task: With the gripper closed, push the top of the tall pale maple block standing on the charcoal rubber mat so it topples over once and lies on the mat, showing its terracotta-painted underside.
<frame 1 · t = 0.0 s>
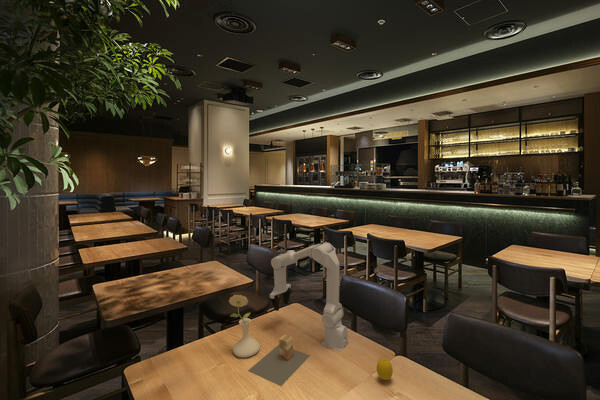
hand: (281, 307, 143), 10 cm above the table, fingers open, 7 cm apart
lemon: (384, 380, 105), on the table
rubber mat: (280, 364, 116), on the table
flower in vase: (245, 351, 125), on the table
maple block: (286, 356, 120), resting on rubber mat
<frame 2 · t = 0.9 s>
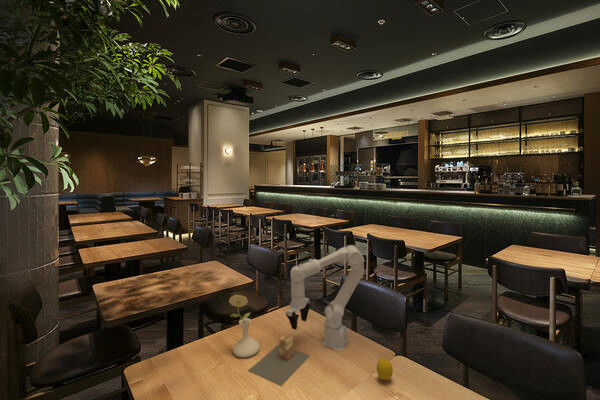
hand: (299, 324, 127), 9 cm above the table, fingers open, 7 cm apart
nothing on the table moved.
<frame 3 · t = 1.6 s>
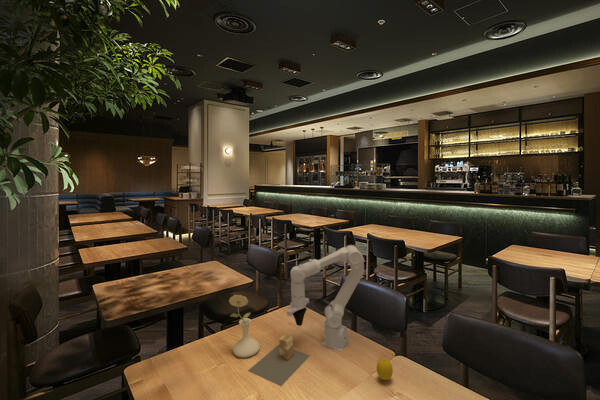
hand: (299, 324, 127), 9 cm above the table, fingers closed
nothing on the table moved.
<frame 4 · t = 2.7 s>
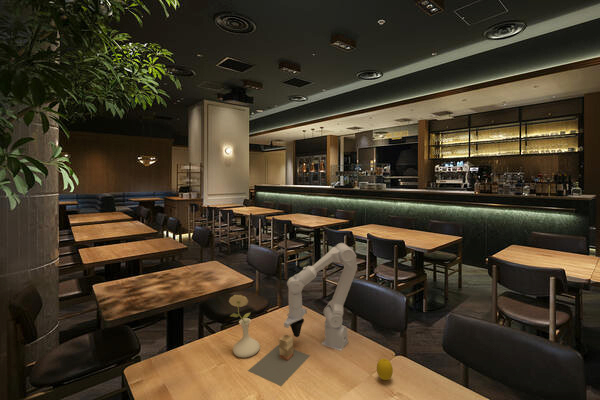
hand: (296, 335, 126), 5 cm above the table, fingers closed
nothing on the table moved.
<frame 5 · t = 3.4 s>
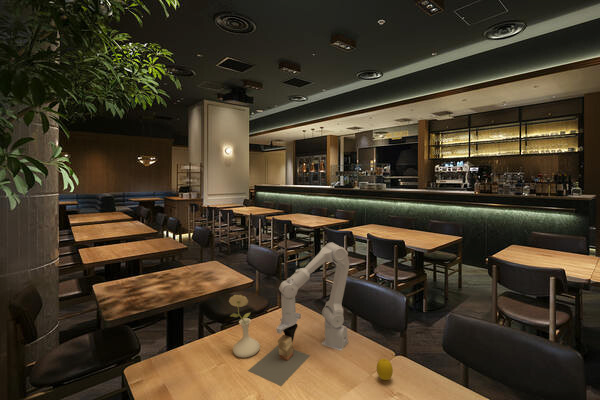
hand: (289, 341, 122), 5 cm above the table, fingers closed
maple block: (286, 356, 120), point 1 cm above the table, tilted 7°, touching gripper, rubber mat
everything else where it was.
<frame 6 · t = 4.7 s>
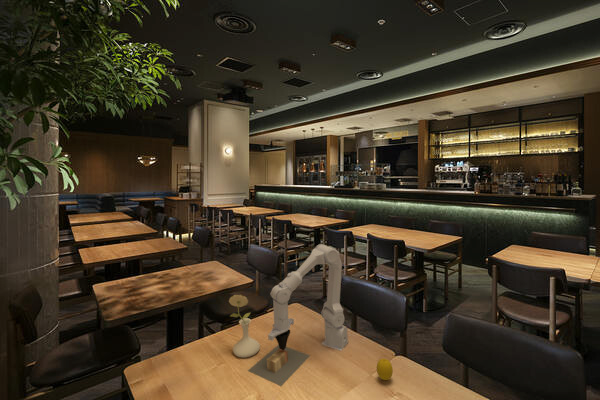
hand: (282, 348, 117), 5 cm above the table, fingers closed
maple block: (283, 354, 118), point 2 cm above the table, tilted 90°, touching rubber mat
everything else where it was.
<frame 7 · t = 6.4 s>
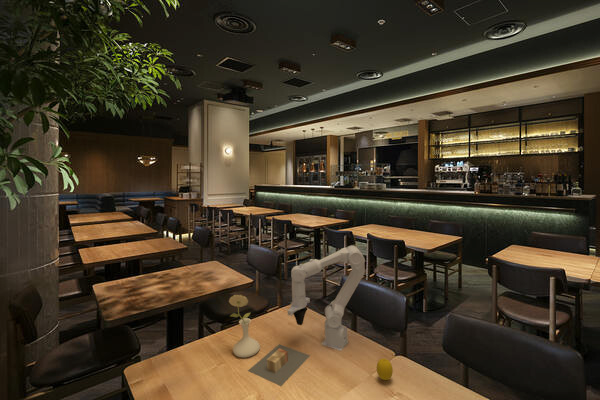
hand: (299, 324, 128), 9 cm above the table, fingers closed
nothing on the table moved.
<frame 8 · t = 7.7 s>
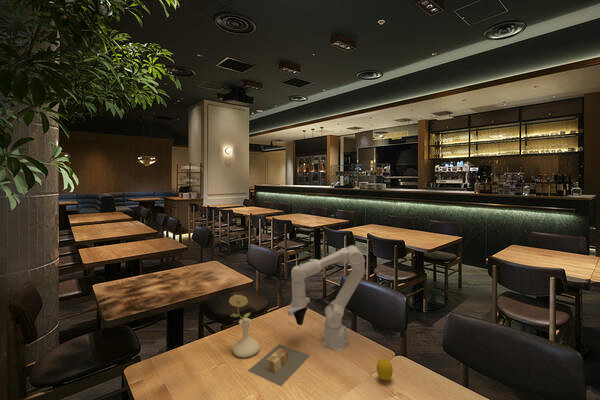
hand: (299, 324, 128), 9 cm above the table, fingers closed
nothing on the table moved.
at the end: maple block tilted 90°; maple block inside the target area on the rubber mat (4.0 cm from its centre), point 2.5 cm above the rubber mat's base; the gripper is holding nothing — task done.
